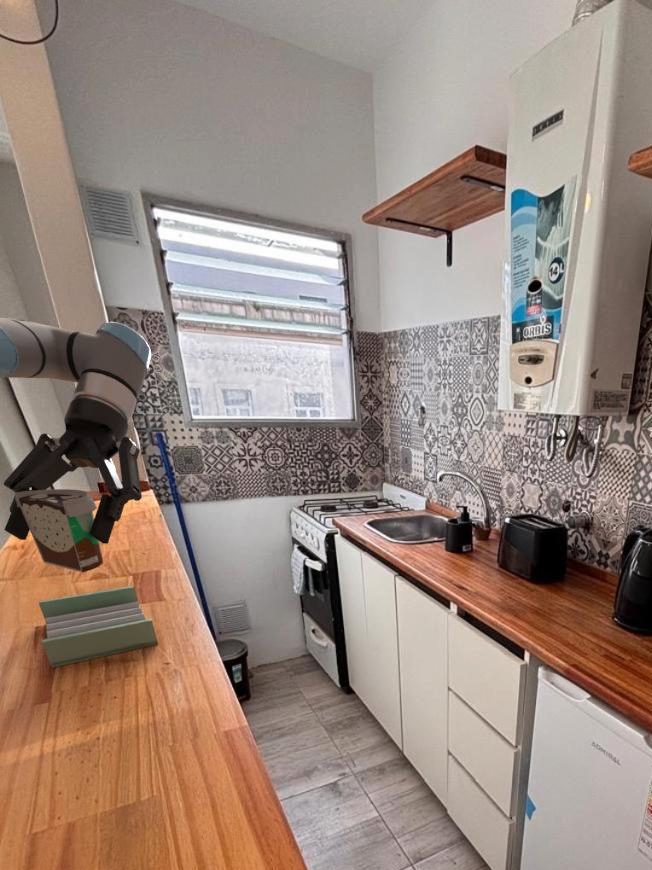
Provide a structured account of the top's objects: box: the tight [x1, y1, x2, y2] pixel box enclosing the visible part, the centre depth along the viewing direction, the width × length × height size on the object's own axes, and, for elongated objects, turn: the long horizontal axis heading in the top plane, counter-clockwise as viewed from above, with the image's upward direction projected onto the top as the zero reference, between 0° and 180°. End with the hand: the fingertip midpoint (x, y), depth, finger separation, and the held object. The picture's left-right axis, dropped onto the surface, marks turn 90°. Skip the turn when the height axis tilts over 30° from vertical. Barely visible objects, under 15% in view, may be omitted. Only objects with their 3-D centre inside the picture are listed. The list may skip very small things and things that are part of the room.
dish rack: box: [38, 585, 159, 669], centre depth 80 cm, size 18×13×4 cm
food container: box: [14, 488, 104, 573], centre depth 74 cm, size 12×6×10 cm, turn 65°
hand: (56, 537), depth 73 cm, fingers closed on food container, 11 cm apart
